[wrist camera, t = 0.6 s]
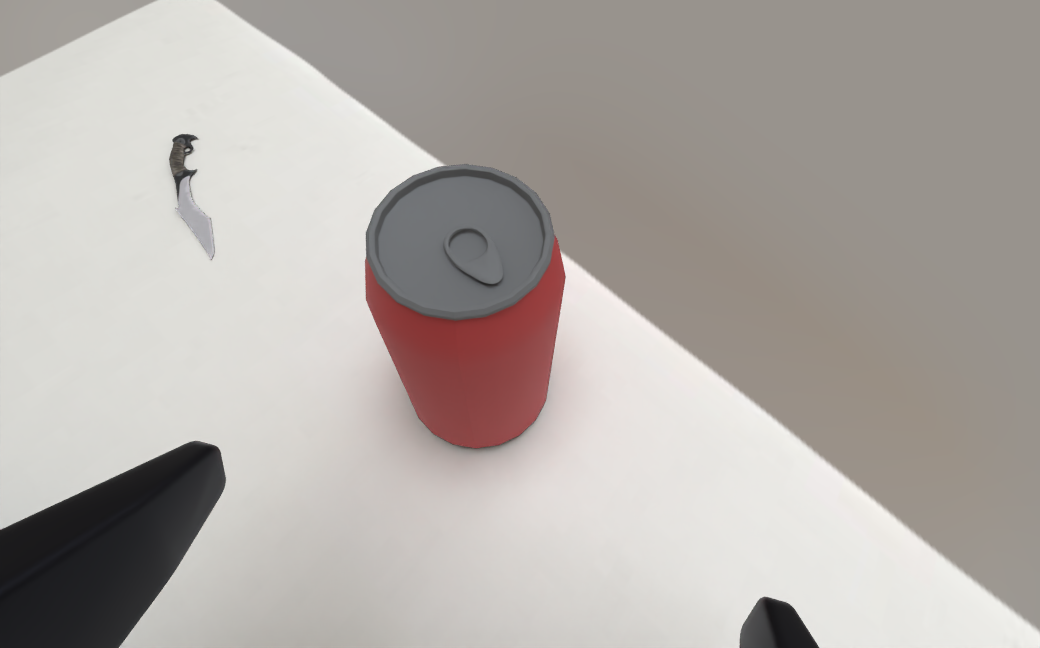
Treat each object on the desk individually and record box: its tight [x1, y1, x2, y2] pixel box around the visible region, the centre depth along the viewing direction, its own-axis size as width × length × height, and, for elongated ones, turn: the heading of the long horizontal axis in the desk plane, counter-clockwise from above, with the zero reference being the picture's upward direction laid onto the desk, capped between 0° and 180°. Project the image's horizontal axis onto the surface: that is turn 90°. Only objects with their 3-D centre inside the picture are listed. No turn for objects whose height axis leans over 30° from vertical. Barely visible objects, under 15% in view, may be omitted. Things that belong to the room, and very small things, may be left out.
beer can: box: [365, 164, 566, 448], centre depth 22 cm, size 7×7×12 cm
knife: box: [169, 134, 214, 259], centre depth 32 cm, size 10×2×1 cm, turn 20°
